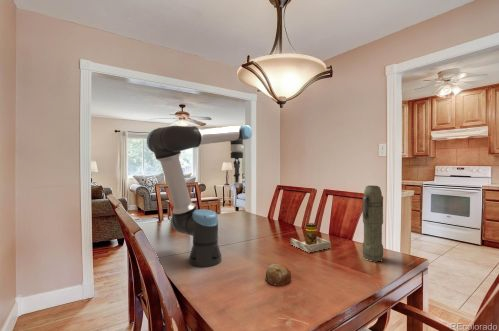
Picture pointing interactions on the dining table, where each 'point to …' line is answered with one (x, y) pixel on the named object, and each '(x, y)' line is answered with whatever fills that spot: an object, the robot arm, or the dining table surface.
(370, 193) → the thermos
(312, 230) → the condiment
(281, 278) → the bread roll
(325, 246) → the u rest
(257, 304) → the dining table surface
